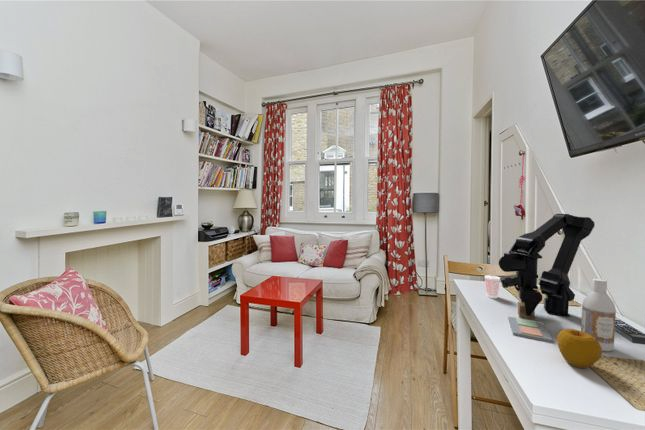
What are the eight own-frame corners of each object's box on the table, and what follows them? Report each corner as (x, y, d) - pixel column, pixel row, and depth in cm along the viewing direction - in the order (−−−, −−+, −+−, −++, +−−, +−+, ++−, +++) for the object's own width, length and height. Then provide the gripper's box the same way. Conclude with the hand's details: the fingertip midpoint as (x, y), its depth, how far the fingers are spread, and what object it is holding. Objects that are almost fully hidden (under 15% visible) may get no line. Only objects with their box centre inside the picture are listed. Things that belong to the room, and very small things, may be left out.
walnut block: (532, 315, 103) (532, 303, 103) (534, 319, 99) (534, 307, 99) (517, 313, 105) (517, 301, 105) (519, 317, 101) (519, 305, 101)
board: (542, 324, 95) (542, 321, 95) (552, 342, 83) (552, 339, 83) (508, 318, 100) (508, 315, 100) (512, 334, 88) (513, 331, 88)
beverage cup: (483, 297, 123) (484, 266, 122) (484, 293, 128) (484, 264, 127) (499, 299, 119) (500, 268, 119) (499, 295, 125) (500, 265, 124)
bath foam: (589, 350, 79) (592, 282, 78) (575, 338, 85) (578, 275, 84) (620, 354, 76) (623, 284, 76) (603, 342, 83) (606, 277, 82)
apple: (609, 372, 68) (611, 337, 68) (583, 376, 67) (585, 341, 66) (572, 353, 77) (573, 323, 76) (548, 357, 75) (549, 325, 75)
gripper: (499, 263, 113) (498, 299, 114) (503, 273, 97) (502, 315, 98) (533, 266, 108) (531, 304, 109) (543, 277, 92) (541, 322, 92)
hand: (526, 311), depth 102 cm, fingers open, 9 cm apart
